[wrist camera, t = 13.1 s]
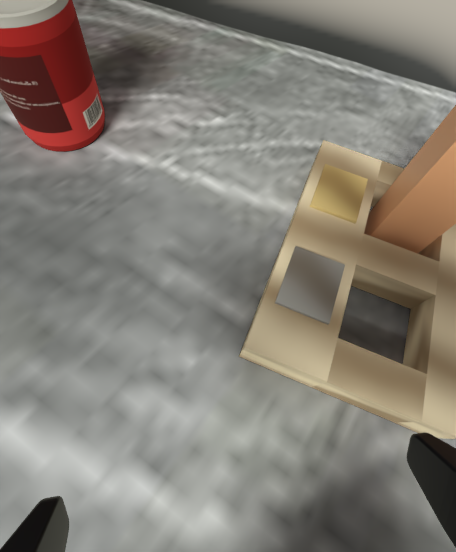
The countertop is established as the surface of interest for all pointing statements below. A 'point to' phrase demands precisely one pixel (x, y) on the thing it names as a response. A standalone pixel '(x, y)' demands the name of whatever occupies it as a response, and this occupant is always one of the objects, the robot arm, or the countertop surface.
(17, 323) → the countertop surface
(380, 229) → the plug
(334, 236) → the socket plate
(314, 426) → the countertop surface
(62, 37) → the canned food
